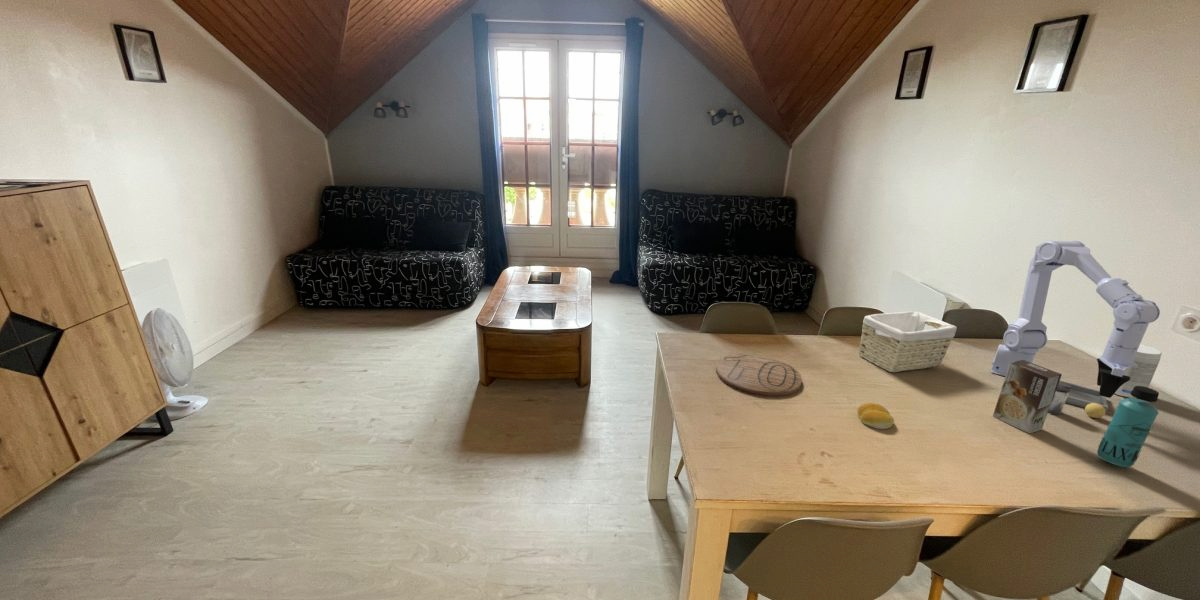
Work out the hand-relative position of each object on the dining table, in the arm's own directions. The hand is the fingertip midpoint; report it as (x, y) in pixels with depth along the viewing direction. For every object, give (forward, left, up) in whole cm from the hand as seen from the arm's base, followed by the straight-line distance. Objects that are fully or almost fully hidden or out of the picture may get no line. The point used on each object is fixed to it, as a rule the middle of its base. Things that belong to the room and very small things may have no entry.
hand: (1103, 391), depth 135 cm
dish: (-3, +11, -8) cm, 14 cm away
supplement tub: (+8, +27, -8) cm, 29 cm away
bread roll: (-45, -45, -9) cm, 64 cm away
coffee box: (-16, -19, -8) cm, 26 cm away
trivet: (-78, -43, -9) cm, 89 cm away
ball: (0, 0, -6) cm, 6 cm away
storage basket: (-48, +1, -8) cm, 48 cm away
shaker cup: (-9, -4, -8) cm, 13 cm away
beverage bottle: (+2, -26, -8) cm, 27 cm away
